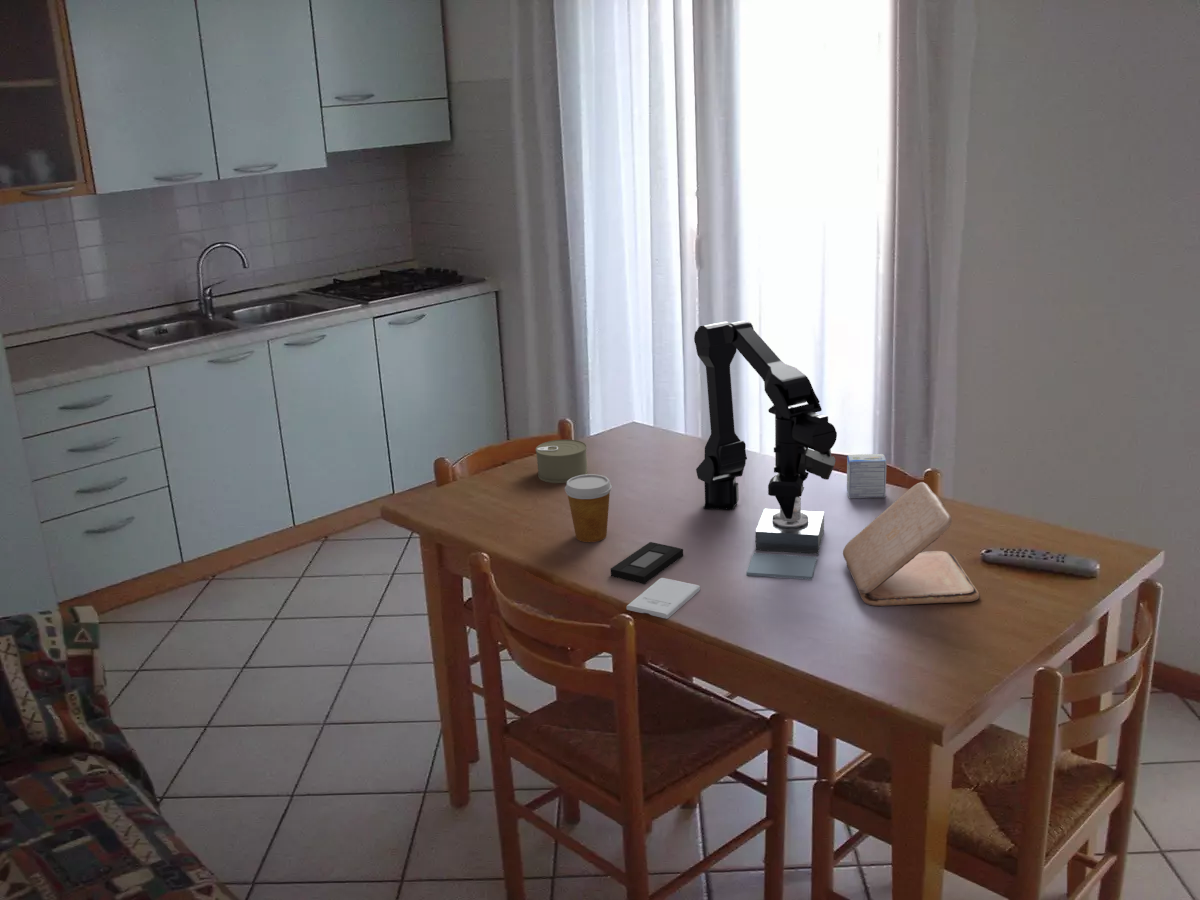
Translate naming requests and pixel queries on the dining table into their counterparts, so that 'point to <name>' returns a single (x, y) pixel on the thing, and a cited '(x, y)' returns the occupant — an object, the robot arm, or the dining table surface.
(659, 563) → the vhs tape
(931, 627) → the dining table surface
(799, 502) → the silver door knob
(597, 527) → the disposable coffee cup
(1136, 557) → the dining table surface
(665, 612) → the external hard drive
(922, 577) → the case
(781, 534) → the frame
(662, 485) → the dining table surface
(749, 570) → the mat
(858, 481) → the medicine box
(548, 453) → the can
